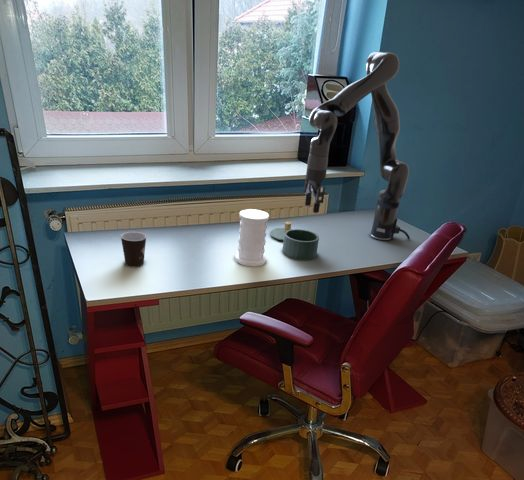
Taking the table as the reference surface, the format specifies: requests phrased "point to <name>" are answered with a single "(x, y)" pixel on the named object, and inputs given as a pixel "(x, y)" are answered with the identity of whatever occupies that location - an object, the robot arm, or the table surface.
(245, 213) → the decorative container
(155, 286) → the table surface
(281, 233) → the tin lid
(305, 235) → the tin
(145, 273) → the table surface
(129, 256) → the coffee mug
